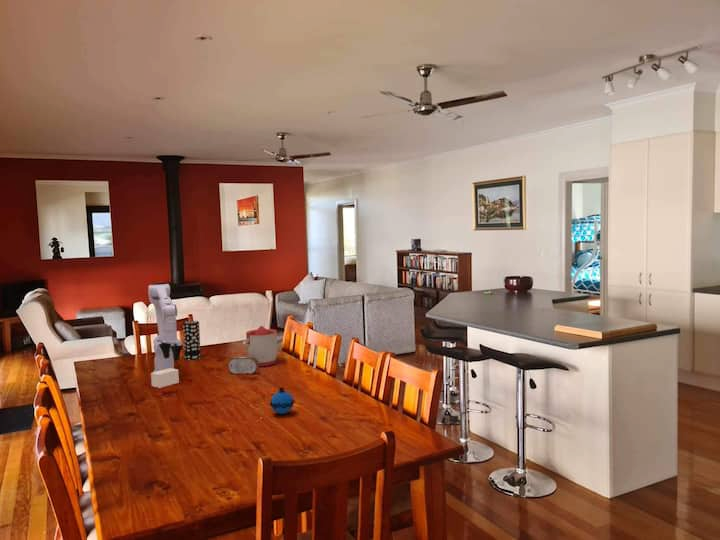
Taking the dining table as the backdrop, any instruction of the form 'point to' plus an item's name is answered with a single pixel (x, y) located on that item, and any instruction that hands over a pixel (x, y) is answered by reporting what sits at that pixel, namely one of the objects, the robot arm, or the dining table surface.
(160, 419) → the dining table surface
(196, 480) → the dining table surface
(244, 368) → the tin
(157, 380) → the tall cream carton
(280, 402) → the ornament
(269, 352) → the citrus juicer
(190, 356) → the white-spotted black cylinder
